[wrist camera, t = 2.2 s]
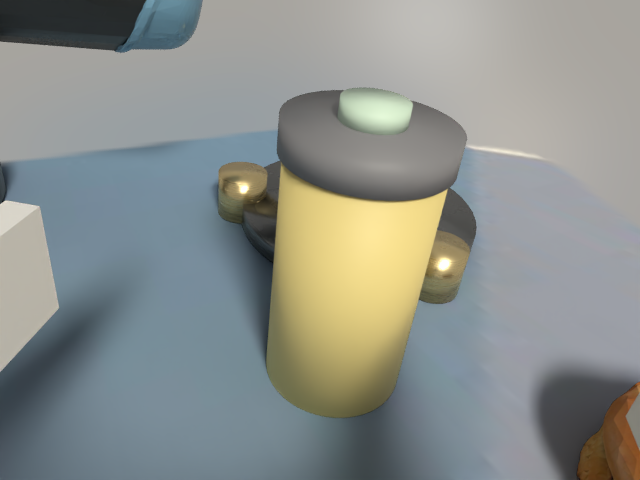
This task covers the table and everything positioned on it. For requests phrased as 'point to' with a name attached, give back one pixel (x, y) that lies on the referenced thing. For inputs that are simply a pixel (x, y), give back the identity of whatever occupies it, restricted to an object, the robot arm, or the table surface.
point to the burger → (612, 445)
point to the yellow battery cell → (353, 241)
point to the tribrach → (261, 218)
